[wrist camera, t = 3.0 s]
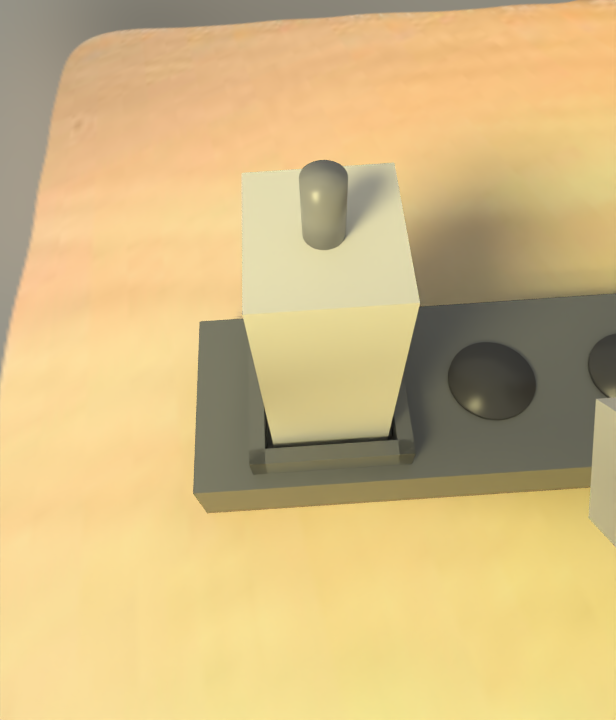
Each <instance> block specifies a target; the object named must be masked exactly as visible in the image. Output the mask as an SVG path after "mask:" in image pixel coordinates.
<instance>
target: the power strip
mask: <svg viewBox="0 0 616 720" xmlns="http://www.w3.org/2000/svg"><path fill="white" fill-rule="evenodd" d="M614 397H616V294H602V295H587V296H572V297H558V298H543V299H528V300H513V301H498V302H483V303H469V304H454V305H439V306H424V307H419V309H418V314H417V318H416V322H415V326H414V330H413V335H412V339H411V343H410V347H409V351H408V356H407V360H406V364H405V368H404V372H403V376H402V381H401V385H400V389H399V393H398V397H397V402H396V406H395V410H394V414H393V418H392V423H391V427H390V431H389V435H388V439H387V441H373V442H358V443H343V444H328V445H313V446H298V447H284V448H274V445H273V441H272V437H271V433H270V428H269V424H268V420H267V416H266V412H265V407H264V403H263V399H262V395H261V391H260V386H259V382H258V378H257V374H256V370H255V365H254V361H253V357H252V353H251V349H250V344H249V340H248V336H247V332H246V328H245V323H244V319H231V320H216V321H201V322H200V328H199V354H198V381H197V407H196V434H195V460H194V487H193V494H194V495H195V497H196V498H197V500H198V501H199V502H200V504H201V505H202V506H203V508H204V509H205V511H206V512H207V513H216V512H231V511H246V510H261V509H276V508H291V507H305V506H320V505H335V504H350V503H365V502H380V501H395V500H409V499H424V498H439V497H454V496H469V495H484V494H499V493H513V492H528V491H543V490H558V489H573V488H588V487H591V471H592V455H593V439H594V423H595V407H596V399H601V398H614Z"/></svg>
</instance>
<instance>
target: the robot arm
mask: <svg viewBox="0 0 616 720" xmlns="http://www.w3.org/2000/svg"><path fill="white" fill-rule="evenodd" d="M589 519H590V520H591V521H592V522H593V523H594V524H595V525H596V527H597V528H598V529H599V530H600V531H601V532H602V533H603V534H604V535H605V536H606V537H607V538H608V539H609V540H610V541H611V542H612V543H613V545H614V546H615V547H616V397H614V398H601V399H596V407H595V423H594V439H593V455H592V471H591V487H590V503H589Z"/></svg>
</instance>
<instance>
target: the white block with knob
mask: <svg viewBox="0 0 616 720" xmlns="http://www.w3.org/2000/svg"><path fill="white" fill-rule="evenodd" d="M419 305H420V300H419V294H418V289H417V283H416V278H415V273H414V267H413V262H412V256H411V251H410V245H409V240H408V235H407V229H406V224H405V218H404V213H403V208H402V202H401V197H400V191H399V186H398V180H397V175H396V170H395V164H394V163H383V164H369V165H354V166H342V165H340V164H338V163H336V162H334V161H329V160H319V161H314V162H312V163H309V164H308V165H306V166H305V167H304V168H303V169H294V170H280V171H265V172H250V173H242V315H243V319H244V323H245V328H246V332H247V336H248V340H249V344H250V349H251V353H252V357H253V361H254V365H255V370H256V374H257V378H258V382H259V386H260V391H261V395H262V399H263V403H264V407H265V412H266V416H267V420H268V424H269V428H270V433H271V437H272V441H273V445H274V448H284V447H298V446H313V445H328V444H343V443H358V442H373V441H387V439H388V435H389V431H390V427H391V423H392V418H393V414H394V410H395V406H396V402H397V397H398V393H399V389H400V385H401V381H402V376H403V372H404V368H405V364H406V360H407V356H408V351H409V347H410V343H411V339H412V335H413V330H414V326H415V322H416V318H417V314H418V309H419Z"/></svg>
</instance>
